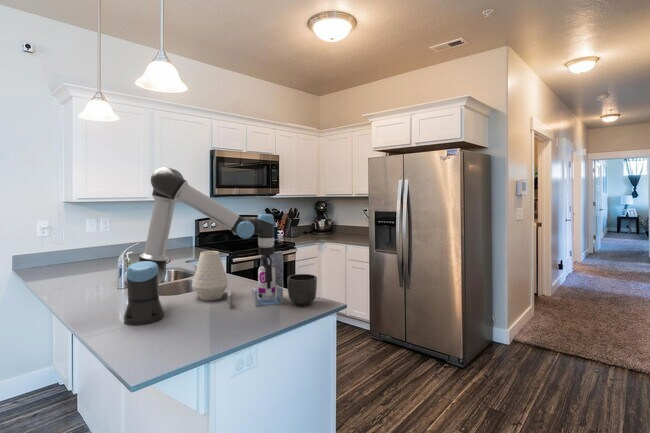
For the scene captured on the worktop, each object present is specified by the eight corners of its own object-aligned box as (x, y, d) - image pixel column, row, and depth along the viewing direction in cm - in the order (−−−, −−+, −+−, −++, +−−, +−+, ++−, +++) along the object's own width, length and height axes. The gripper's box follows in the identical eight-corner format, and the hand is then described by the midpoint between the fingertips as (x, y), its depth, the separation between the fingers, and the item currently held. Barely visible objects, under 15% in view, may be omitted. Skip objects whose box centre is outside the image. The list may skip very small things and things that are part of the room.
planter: (292, 299, 184) (291, 273, 183) (319, 300, 181) (319, 274, 180) (284, 307, 170) (283, 280, 169) (313, 309, 168) (313, 281, 167)
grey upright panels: (228, 308, 169) (228, 293, 169) (227, 301, 180) (226, 286, 180) (283, 303, 177) (282, 288, 176) (278, 296, 188) (278, 282, 188)
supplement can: (272, 300, 176) (272, 268, 175) (256, 299, 177) (255, 268, 176) (278, 295, 184) (277, 265, 183) (262, 294, 185) (261, 264, 184)
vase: (187, 296, 189) (186, 252, 188) (220, 291, 200) (219, 248, 198) (200, 304, 175) (198, 256, 174) (234, 298, 186) (233, 252, 185)
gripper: (278, 248, 170) (278, 297, 171) (270, 243, 190) (271, 286, 191) (261, 249, 168) (262, 299, 169) (255, 243, 188) (256, 288, 189)
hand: (267, 292), depth 180 cm, fingers closed on supplement can, 8 cm apart
